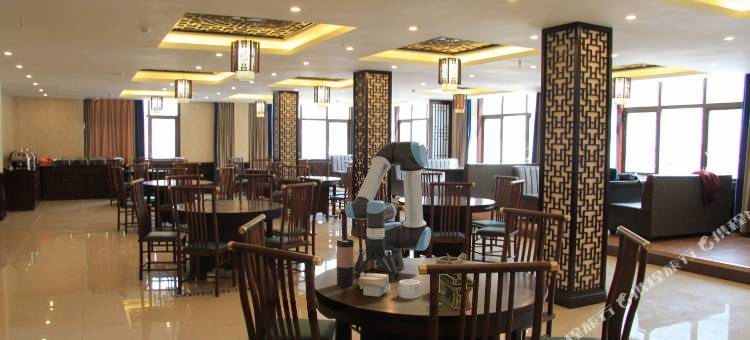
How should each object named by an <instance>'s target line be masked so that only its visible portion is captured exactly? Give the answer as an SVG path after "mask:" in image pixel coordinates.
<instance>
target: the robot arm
mask: <svg viewBox="0 0 750 340" xmlns="http://www.w3.org/2000/svg"><path fill="white" fill-rule="evenodd" d="M428 159H429V158H428V150H427V148H426V146H425V144H424V143H423V142H419V141H391V142H387V143H386V144H384V145H383V146H381V148H379V149H377V151H376V153H375V154H374V156H373V157H372V159H371V166H370V168H369V170H368V172H367V175H366V176H365V179H364V181H363V183H362V185H361V187H360V189H359V191H358V193H357V195H356V197H355V198H354V201H348V202H346V205H345V208H344V212H345V215H346V217H347V218H348V219H353V220H366V237H367V238H366V248H360V249H359V251H358V258H357V260H356V263H355V264H354V272H357V273H358V277H357V278H358V280H359V278H360V277H362V276H363V275H365V271H364V270H365V268H366V267H367V265H368V264H369V263H370V261H371V260H372V261H374V260H375V261H374V269H375V270H378V271H382V272H386V274H388V275H387V291H386V292H390V291H391V284H392V283H393V280H394V279H393V278H394V277H393V276H394V275H396V274H397V273H398V272H399V271H400V272H401V271H403V270H404V269H405V262H404V259H403V256H402V255H403V254H402V250H410V251H411V250H412V251H426V250H427V248H429V245H430V243H431V242H430V241H431V238H432V229H431V228H430V227H428V226H427V222H426V221H425V220H424V213H423V212H424V211H423V194H422V193H423V191H422V190H423V189H422V172H423V171H424V170H425V169H424V168H425V167H426V166H427V164H428ZM393 166H399V171H400V172H401V173H402V174H403V175H402V176H403V177H402V178H403V193H404V194H403V195H404V212H405V213H404V215H405V216H404V217H405V221H403V223H402V222H401V221H396V222H387V221H391V220H393V219H394V218H395V217H396V216H397V212H398V211H397V208H396V205H394V203H391V202H384V200H374V199H375V197H376V194H377V193H378V190H379V187H380V186H381V184H382V182H383V180H384V177H385V174H386V172H388V171H389V170H390V169H391V167H393ZM365 254H366V255H367V257H366V258H365V260H364V261H363V258H364V256H365ZM362 261H363V263H362ZM361 263H362V264H361ZM359 289H361V290H362V289H363V286H360V287H359Z"/></svg>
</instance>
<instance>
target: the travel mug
mask: <svg viewBox="0 0 750 340" xmlns="http://www.w3.org/2000/svg"><path fill="white" fill-rule="evenodd" d="M354 241H355V240H353V239H351V238H350V239H349V238H347V239H345V238H344V239H342V240H339V239H337V240H336V285H337V287H340V288H349V287H350V286H351V287H353V286H354V275H355V274H354V272H355V271H354V268H355V263H354V261H355V258H354V257H355V253H354V252H355V251H354V249H355V247H354V245H355V244H354V243H355V242H354Z"/></svg>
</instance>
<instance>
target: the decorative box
mask: <svg viewBox="0 0 750 340" xmlns="http://www.w3.org/2000/svg"><path fill="white" fill-rule="evenodd" d="M446 256H447V257H448V261H447V264H450V263H451V259H450V257H451V255H450V254H448V253H447V252H446ZM467 259H468V254H466V257H465V258H463V259H462V260H461V261H460V262H459V263H457V264H461V262H462V263H463V262H464V261H465V260H467ZM452 264H456V263H455V262H452ZM466 276H467V289H466V309H465V310H470V309H472V308H471V305H472V304H471V301H470V293H471V291H472V290H473V289H474V288H473V281H474V280H473V279H472V278H471V277H469V276H468V275H466ZM440 279H441V281H442V282H443V284H444V286H445V295H443V298H442V299H441V301H442V300H443V301H444V302H445V303H446V304H445V303H444V302H443V301H442V302H443V303H444V304H445V305H446V306H448V305H449V306H450V307H451V308H450V307H449V306H448V307H449V308H450V309H452V310H454V309H459V308H460V295H461V275H460V274H448V275H440ZM459 310H460V309H459Z"/></svg>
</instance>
